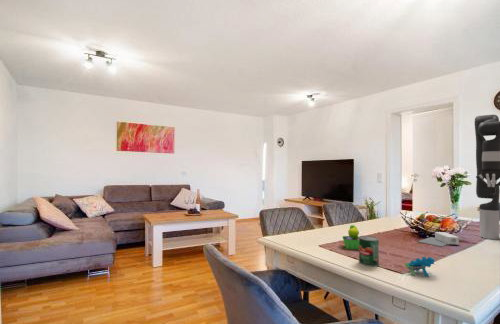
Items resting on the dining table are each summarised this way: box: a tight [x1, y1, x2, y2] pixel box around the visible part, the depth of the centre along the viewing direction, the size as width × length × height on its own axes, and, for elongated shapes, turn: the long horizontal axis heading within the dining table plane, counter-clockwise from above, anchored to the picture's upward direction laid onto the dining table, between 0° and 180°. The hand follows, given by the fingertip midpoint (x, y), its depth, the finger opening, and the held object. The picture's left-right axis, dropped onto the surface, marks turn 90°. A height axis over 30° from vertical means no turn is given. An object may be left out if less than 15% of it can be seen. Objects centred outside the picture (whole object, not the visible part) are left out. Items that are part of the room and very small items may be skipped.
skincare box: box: [434, 231, 460, 246], centre depth 155 cm, size 6×4×12 cm
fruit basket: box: [341, 224, 360, 251], centre depth 143 cm, size 11×9×11 cm
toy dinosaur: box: [404, 256, 436, 277], centre depth 107 cm, size 11×6×10 cm
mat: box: [417, 236, 449, 248], centre depth 156 cm, size 18×12×1 cm, turn 125°
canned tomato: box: [358, 235, 380, 267], centre depth 119 cm, size 8×8×11 cm
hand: (491, 194), depth 140 cm, fingers closed
